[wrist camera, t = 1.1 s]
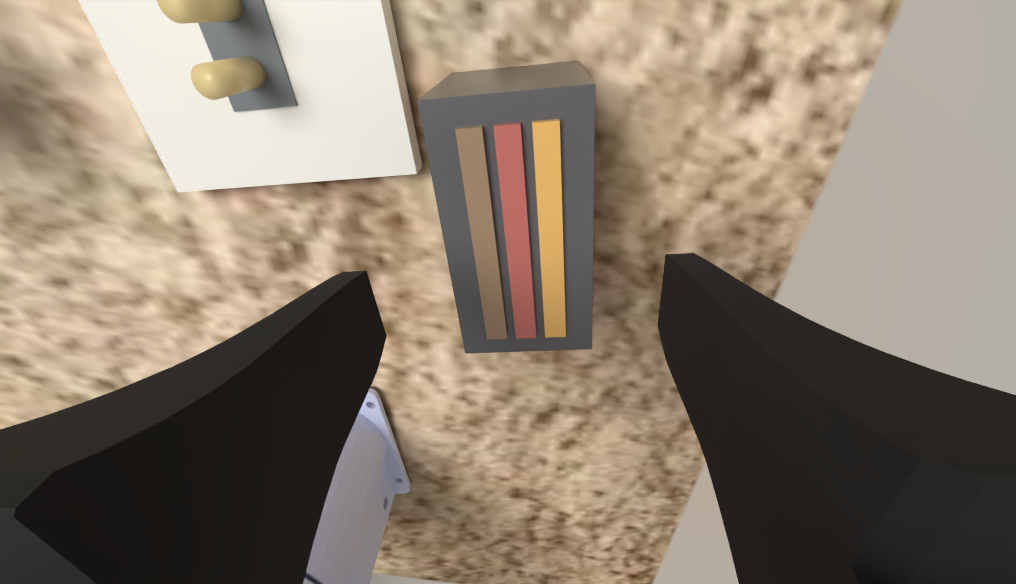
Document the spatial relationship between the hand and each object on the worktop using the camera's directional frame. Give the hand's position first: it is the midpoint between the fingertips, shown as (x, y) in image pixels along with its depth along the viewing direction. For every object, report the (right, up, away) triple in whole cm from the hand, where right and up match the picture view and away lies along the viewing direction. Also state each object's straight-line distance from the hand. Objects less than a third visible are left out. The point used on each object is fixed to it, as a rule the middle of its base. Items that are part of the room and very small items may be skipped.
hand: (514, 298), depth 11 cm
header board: (-9, +10, +4) cm, 14 cm away
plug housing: (0, +5, +7) cm, 8 cm away
